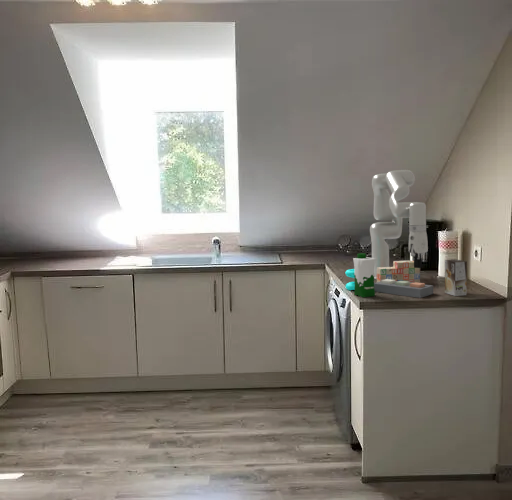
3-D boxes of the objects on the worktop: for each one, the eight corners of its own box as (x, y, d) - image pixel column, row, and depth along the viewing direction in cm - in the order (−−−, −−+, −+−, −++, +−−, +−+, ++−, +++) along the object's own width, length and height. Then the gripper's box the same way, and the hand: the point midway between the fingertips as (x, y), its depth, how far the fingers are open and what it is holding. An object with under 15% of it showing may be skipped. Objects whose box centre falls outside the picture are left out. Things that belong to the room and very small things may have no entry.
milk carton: (366, 293, 261) (366, 252, 259) (378, 296, 253) (377, 254, 251) (351, 295, 257) (351, 254, 255) (362, 298, 249) (362, 255, 247)
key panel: (372, 291, 265) (372, 283, 264) (386, 287, 273) (386, 280, 272) (420, 297, 246) (420, 289, 245) (433, 293, 254) (433, 285, 254)
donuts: (347, 271, 265) (343, 268, 275) (347, 291, 266) (343, 288, 276) (367, 271, 265) (362, 268, 275) (367, 290, 266) (363, 287, 276)
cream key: (381, 286, 265) (381, 280, 265) (386, 284, 268) (386, 278, 268) (389, 287, 261) (389, 281, 261) (395, 285, 265) (395, 280, 264)
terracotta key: (409, 290, 253) (409, 283, 253) (415, 288, 257) (415, 282, 256) (419, 291, 250) (419, 284, 249) (424, 289, 253) (424, 283, 253)
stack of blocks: (380, 286, 277) (380, 263, 276) (376, 284, 283) (376, 261, 282) (420, 284, 279) (420, 261, 278) (415, 282, 285) (415, 260, 284)
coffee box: (467, 295, 248) (467, 261, 247) (455, 296, 247) (455, 262, 245) (455, 291, 257) (456, 258, 256) (443, 292, 256) (444, 259, 254)
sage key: (395, 288, 259) (395, 282, 259) (400, 286, 263) (400, 280, 262) (404, 289, 256) (404, 283, 255) (409, 287, 259) (409, 281, 259)
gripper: (416, 230, 242) (416, 270, 244) (433, 228, 252) (433, 266, 254) (401, 229, 248) (402, 269, 249) (418, 227, 258) (418, 265, 259)
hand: (417, 267), depth 252 cm, fingers closed
